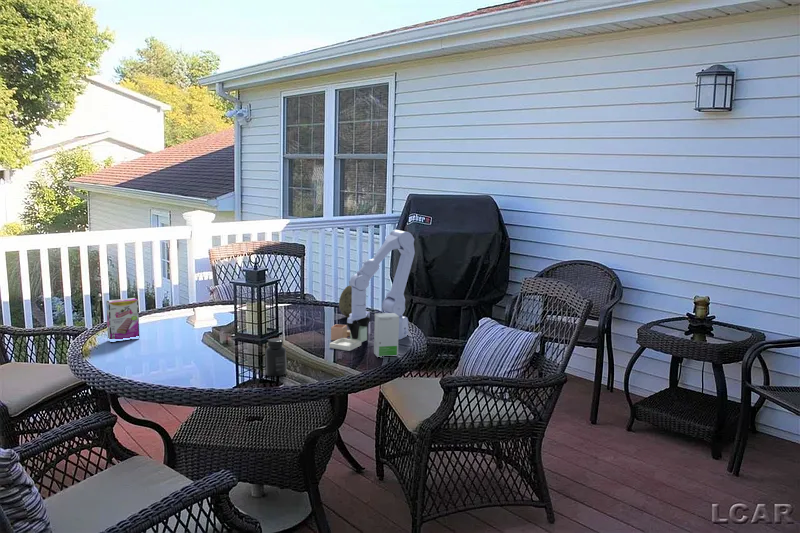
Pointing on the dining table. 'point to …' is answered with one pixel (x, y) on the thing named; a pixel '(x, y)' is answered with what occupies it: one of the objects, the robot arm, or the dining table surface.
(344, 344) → the tray
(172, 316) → the dining table surface
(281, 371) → the supplement bottle
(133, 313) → the candy bar box
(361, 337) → the pot green
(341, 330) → the pot terracotta
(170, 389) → the dining table surface
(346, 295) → the decorative egg
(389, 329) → the skincare box
